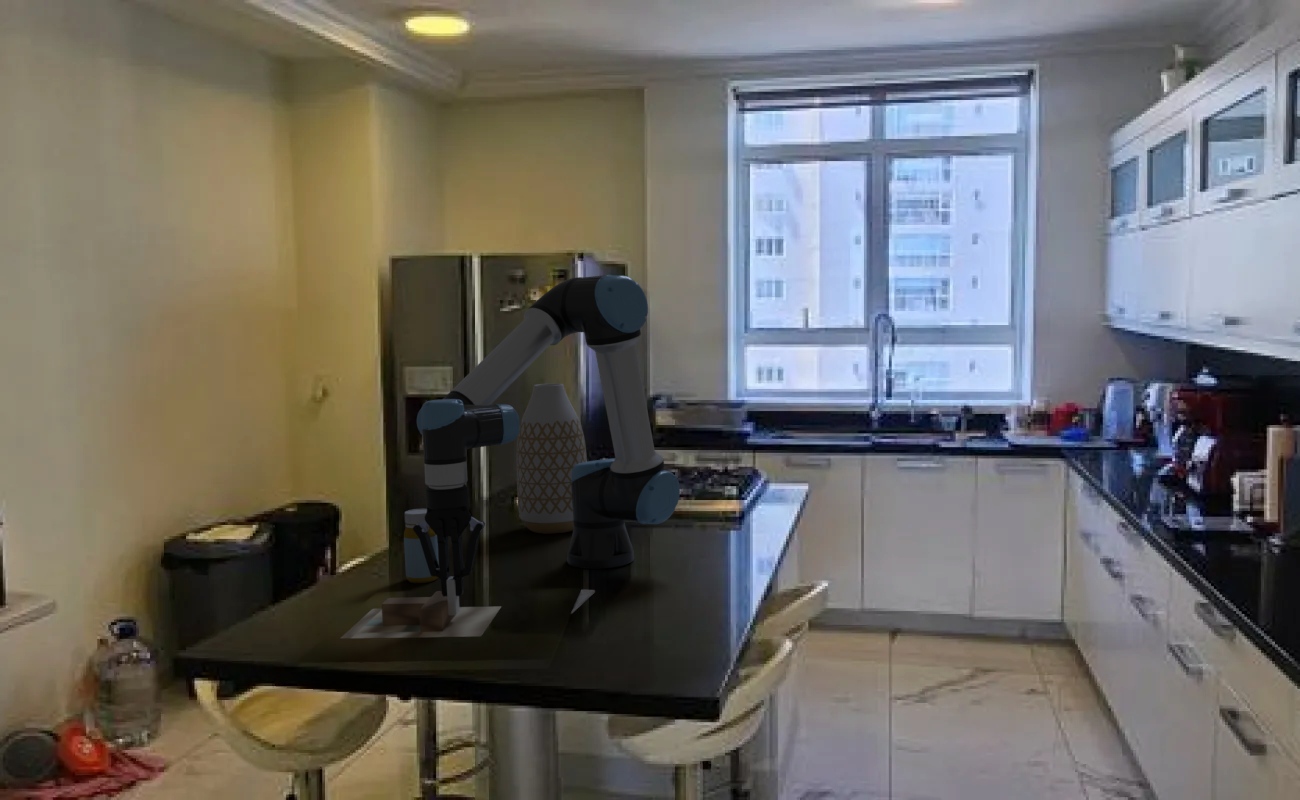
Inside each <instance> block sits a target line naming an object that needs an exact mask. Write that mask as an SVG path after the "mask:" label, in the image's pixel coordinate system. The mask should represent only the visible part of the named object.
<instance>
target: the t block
mask: <svg viewBox="0 0 1300 800" xmlns="http://www.w3.org/2000/svg"><path fill="white" fill-rule="evenodd" d="M381 609H382V620H383V626H388V625H420V632H439V631H443V630H444V629H445V628H446V627H447V625H448V624H449V623H450V622H451V620H452V619H453V618H454V617H455V615H448V598H447V596H443V595H442V590H438V591H437V590H436V591H435V592H434V593H433V595H432V596H421V597H420V596H419V597H418V596H417V597H388V598H387V599H385V600H384V601H383V602H382V603H381Z"/></svg>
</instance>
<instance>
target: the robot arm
mask: <svg viewBox="0 0 1300 800" xmlns="http://www.w3.org/2000/svg"><path fill="white" fill-rule="evenodd" d="M648 314H649V305H648V300H647V296H646V294H645V291H644V290H643V288H642V287H641V285H640V284H639V283H638V282H636V281H635V280H634V279H633V278H631V277H629V276H626V275H616V274H615V275H614V274H606V275H605V274H604V275H595V276H585V277H584V276H583V277H580V276H578V277H571V278H568V279H566V280H564V281H562V282H559V283H558V284H556V285H554V286H553V287H551V288H550V290H548V291H547V292H545V293H544V294H543V295H542V296H540V297H539V298H538V299H537V300H536V301H535V302H533V304H532V305H531V306H530V307H529V308H527V309H526V311H525V312H524V314H523V320H522V321H520V323H519V324H518V325H517V326H516V327H515V328H514V329H512V331H511V332H510V333H509V334H508V335H507V336H505V338H504V339H503V340H502V341H501V342H500V343H499V344H498V345H497V346H495V348H494V349H492V350H491V351H490V352H489V354H487V356H485V357H484V358H483V360H481V361H480V362H479V363H478V364H477V366H476V365H475V367H474V368H473V369H472V370H471V371H470V372H469V373H468V374H467V375H466V376H465V377H464V378H463V379H462V380H461V381H460V382H459V383H458V384H457V385H455V387H453V389H452V390H451V391H450V392H449V393H447V395H445V396H444V397H443V398H442V399H433V400H427V401H426V402H423V404H422V406H421V408H420V409H419V411H418V412H417V416H416V426H417V430H418V431H419V434H420V435H422V444H423V445H422V446H423V447H422V449H423V461H424V484H425V485H426V486H427V488H426V489H425V499H426V509H427V512H426V515H425V520H423V521H422V522H420V523H418V524H416V525H415V526H414V527H413V530H414V532H415V533H416V535H417V536H418V537H419V539H420V542H421V546H422V549H423V552H424V555H425V559H426V562H427V565H428V568H429V572H430V575H431V576H436V577H438V579H440V583H441V591H442V595H443V596H447V598H448V615H457V614H458V612H459V611H460V608H459V607H460V597H462V596H463V594H464V592H465V587H464V577H466V576H469V575H471V573H472V572H473V571H474V566H475V563H476V562H475V561H476V556H477V551H478V545H479V541H480V535H481V533H482V531H483V529H484V527H485V526H486V523H485V521H483V520H478V519H477V518H475V517H473V512H472V510H471V509H470V498H469V487H468V485H467V484H466V483H467V482H468V481H469V479H468V463H467V450H471V449H475V448H483V447H492V446H502V445H504V444H509V443H511V442H513V441H514V440H516V439H517V438H518V433H519V429H520V424H521V421H520V416H519V414H518V412H517V410H516V409H515V408H514V407H513V406H512V405H510V404H508V403H501V404H500V403H494V402H495V401H496V400H497V399H498V398H499V397H501V395H502V394H503V393H504V392H505V391H506V390H507V389H508V388H509V387H510V386H511V385H512V384H513V383H514V382H515V381H516V380H517V378H519V377H520V376H521V375H522V374H523V373H524V372H525V370H527V369H528V368H529V367H530V366H531V365H532V364H533V363H534V362H535V360H537V359H538V358H539V357H540V355H541V354H543V353H544V351H545V350H546V349H547V348H548V347H549V346H556V345H558V344H559V343H560V342H561V341H562V340H563V339H564V338H566V337H568V336H569V335H573V334H576V333H584V337H585V343H586V347H588V348H590V349H591V350H592V351H594V352H595V353H594V354H595V357H596V363H597V369H598V373H599V378H600V382H601V383H600V384H601V388H602V389H601V390H602V393H603V394H602V395H603V399H604V405H605V411H606V415H607V421H608V425H609V431H610V435H611V436H610V437H611V441H612V448H613V452H614V458H613V457H612V458H605V459H598V460H597V459H596V460H589V461H587V462H583V463H579V464H576V465H575V466H574V467H573V469H572V480H571V487H572V504H573V521H574V529H573V531H572V534H571V537H570V540H569V541H570V542H569V545H568V547H567V553H566V556H567V557H566V560H567V561H566V562H567V564H568V565H570V566H571V567H574V568H581V569H595V570H597V569H611V568H617V567H623V566H626V565H628V564H630V563H633V562H634V561H635V555H634V554H635V552H634V547H633V545H632V542H631V540H630V537H629V534H628V530H627V528H626V522H625V521H628V522H634V523H640V524H641V525H658V524H662V523H664V522H665V521H667V520H668V519H670V517H671V516H672V515H673V514H674V512H675V510H676V507H677V506H678V503H679V500H680V495H681V494H680V493H681V492H680V491H681V489H680V488H681V487H680V482H679V480H678V477H677V476H676V475H675V474H674V473H673V472H672V471H669V470H666V465H665V461H664V458H663V457H664V456H662V455H661V454H660V453H659V452H657V451H656V450H655V444H654V441H653V434H652V429H651V424H650V417H649V412H648V407H647V402H646V396H645V389H644V385H643V379H642V374H641V373H642V372H641V368H640V362H639V357H638V352H637V346H636V345H637V342H638V341H639V340H640V338H641V337H642V333H641V328H642V327H643V326H644V325H645V323H646V321H647V318H646V317H647V316H648ZM428 525H429V526H430V528H431V529H432V530H433V531H434V533H435V534H436V535H437V542H438V561H439V565H438V561H437V558H436V555H435V552H434V548H433V545H432V542H431V539H430V535H429V533H428V530H429V528H428ZM468 525H470V526H469V530H470V532H471V533H470V537H469V542H468V547H467V552H466V556H465V557H466V558H465V563H464V558H463V557H464V556H463V533H464V532H465V530H466V529H467V527H468ZM449 537H450V542H451V545H452V546H451V549H452V564H453V567H452V569H453V576H450V575H451V573H452V571H451V570H450V552H449V551H450V550H449Z"/></svg>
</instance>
